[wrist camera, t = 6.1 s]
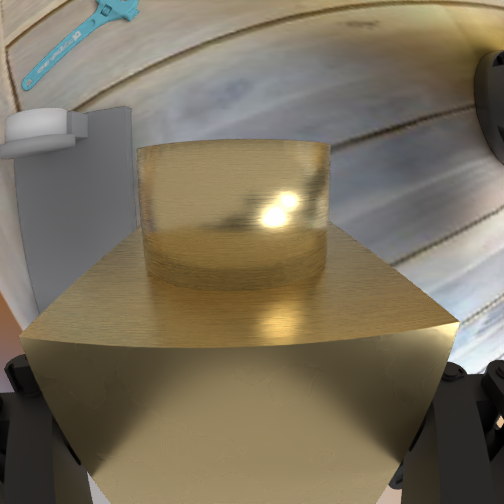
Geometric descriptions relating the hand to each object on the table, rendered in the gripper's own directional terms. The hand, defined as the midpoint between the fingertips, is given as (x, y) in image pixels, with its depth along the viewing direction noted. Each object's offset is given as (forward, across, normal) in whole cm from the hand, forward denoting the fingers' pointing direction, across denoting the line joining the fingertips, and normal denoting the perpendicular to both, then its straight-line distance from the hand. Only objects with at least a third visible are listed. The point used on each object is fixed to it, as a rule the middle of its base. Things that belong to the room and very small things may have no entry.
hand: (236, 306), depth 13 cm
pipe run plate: (+14, -14, 0) cm, 20 cm away
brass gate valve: (+1, 0, 0) cm, 1 cm away
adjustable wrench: (+15, -15, +19) cm, 28 cm away
